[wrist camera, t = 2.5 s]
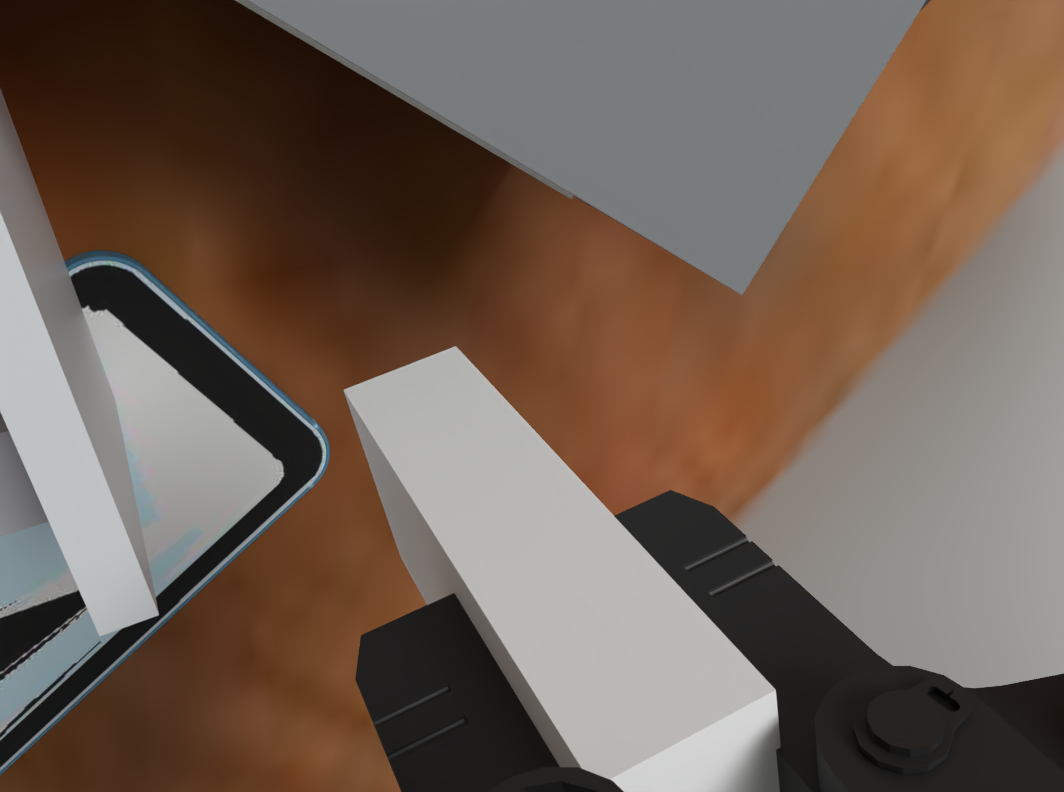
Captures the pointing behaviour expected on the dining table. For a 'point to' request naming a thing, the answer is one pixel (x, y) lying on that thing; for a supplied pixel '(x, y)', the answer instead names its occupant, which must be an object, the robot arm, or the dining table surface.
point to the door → (61, 413)
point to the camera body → (633, 98)
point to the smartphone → (151, 489)
